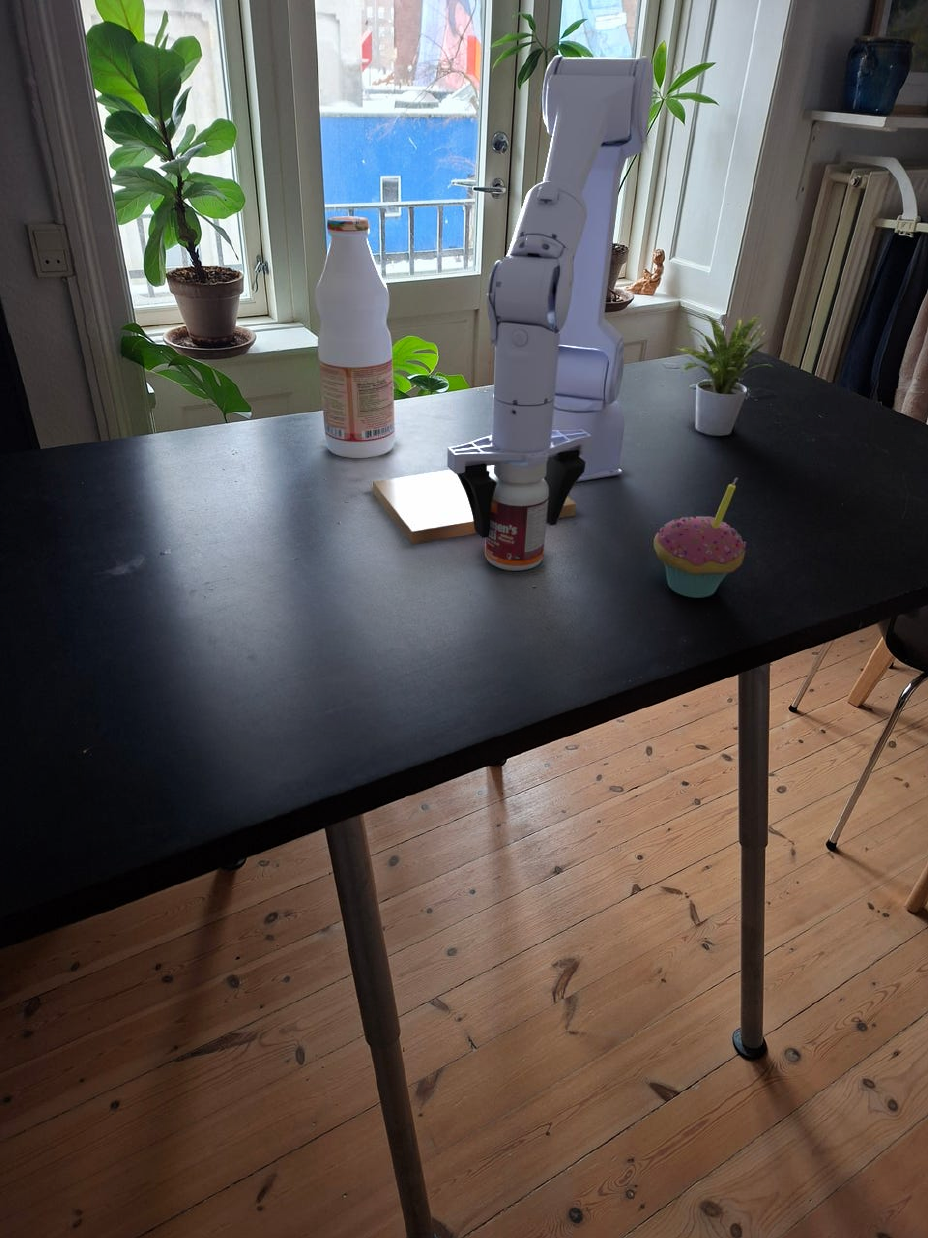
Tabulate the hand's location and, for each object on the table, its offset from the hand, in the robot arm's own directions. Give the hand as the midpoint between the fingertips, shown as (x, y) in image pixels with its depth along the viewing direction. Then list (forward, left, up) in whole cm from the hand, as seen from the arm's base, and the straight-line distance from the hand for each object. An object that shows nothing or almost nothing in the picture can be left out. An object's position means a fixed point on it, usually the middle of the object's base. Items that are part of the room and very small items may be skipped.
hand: (515, 527), depth 82 cm
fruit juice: (+6, -36, -4) cm, 36 cm away
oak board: (-1, -14, -4) cm, 14 cm away
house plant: (-45, -26, -4) cm, 52 cm away
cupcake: (-14, +11, -4) cm, 19 cm away
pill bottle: (0, 0, -4) cm, 4 cm away
